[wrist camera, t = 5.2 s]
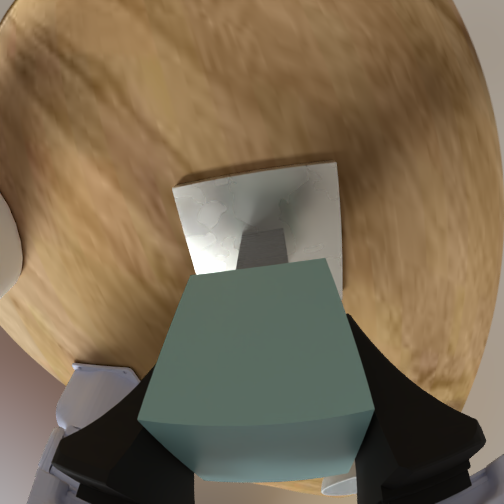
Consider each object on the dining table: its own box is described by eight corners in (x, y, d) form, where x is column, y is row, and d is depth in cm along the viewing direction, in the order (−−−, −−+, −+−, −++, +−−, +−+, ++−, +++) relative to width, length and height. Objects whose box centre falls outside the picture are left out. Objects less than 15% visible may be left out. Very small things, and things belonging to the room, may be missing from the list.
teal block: (221, 361, 14) (204, 480, 8) (190, 275, 11) (136, 419, 5) (326, 351, 13) (348, 473, 7) (325, 257, 11) (374, 408, 5)
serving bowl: (299, 454, 36) (301, 489, 30) (423, 409, 30) (435, 445, 24) (339, 474, 44) (341, 500, 38) (429, 441, 38) (436, 466, 32)
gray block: (211, 309, 22) (195, 380, 15) (175, 185, 17) (129, 227, 11) (339, 293, 20) (363, 362, 14) (333, 160, 16) (374, 189, 10)
